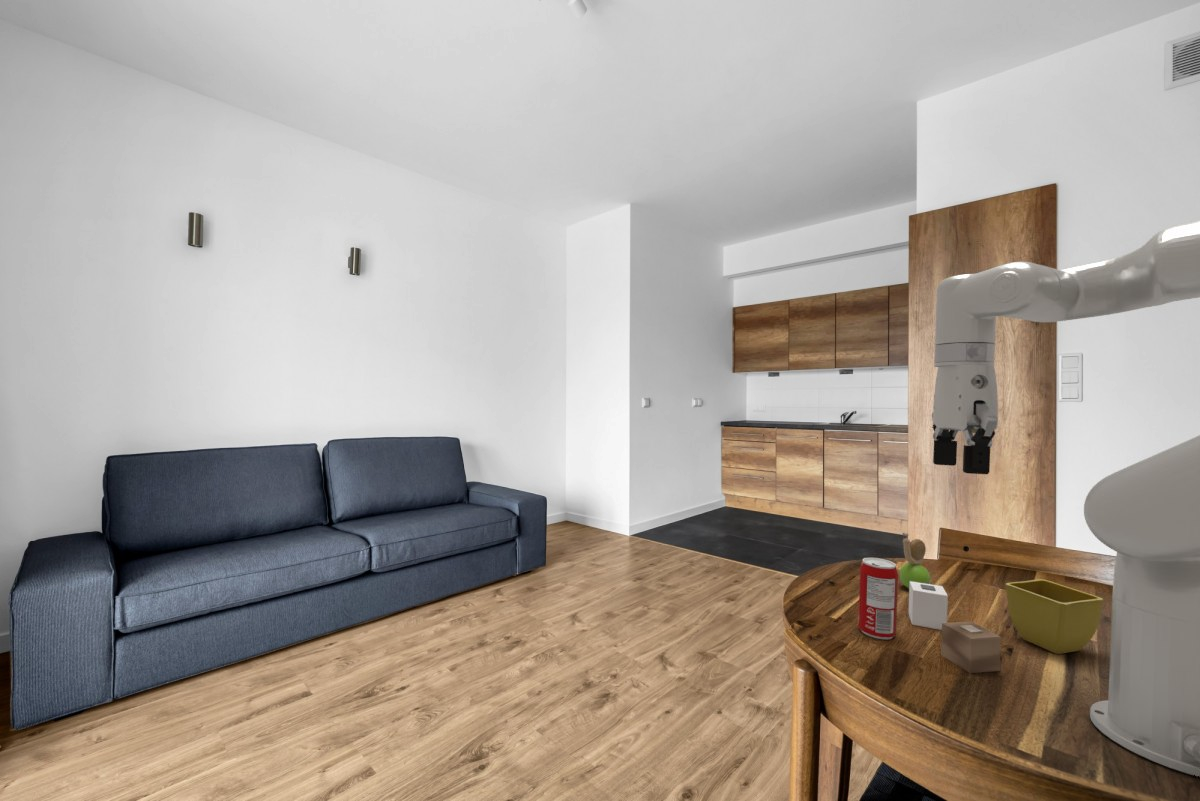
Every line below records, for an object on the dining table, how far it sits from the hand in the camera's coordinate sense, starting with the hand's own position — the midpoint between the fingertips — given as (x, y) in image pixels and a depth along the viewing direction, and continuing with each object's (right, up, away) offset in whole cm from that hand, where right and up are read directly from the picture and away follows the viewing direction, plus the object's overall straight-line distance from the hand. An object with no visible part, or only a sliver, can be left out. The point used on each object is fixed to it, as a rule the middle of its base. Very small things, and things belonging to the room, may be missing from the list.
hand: (959, 468), depth 78 cm
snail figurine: (+9, -29, +26) cm, 39 cm away
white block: (+2, -28, +11) cm, 30 cm away
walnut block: (-1, -28, -3) cm, 29 cm away
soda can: (-9, -28, +6) cm, 30 cm away
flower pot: (+17, -29, +3) cm, 34 cm away
